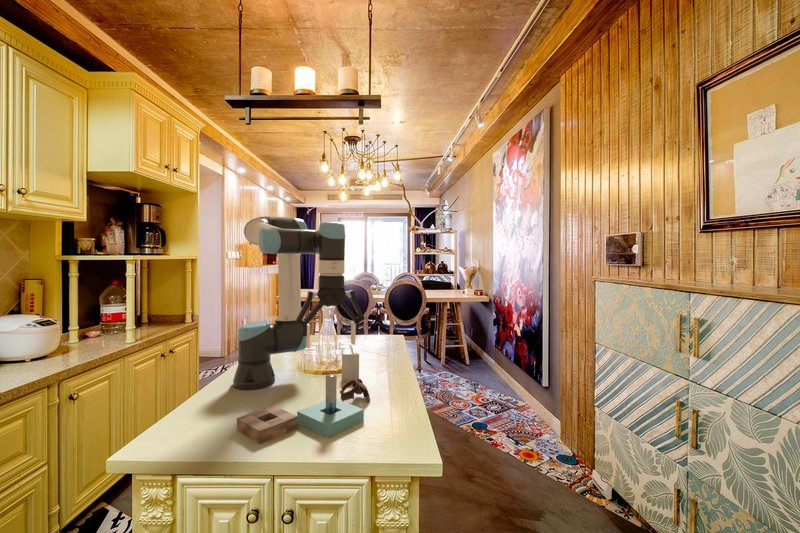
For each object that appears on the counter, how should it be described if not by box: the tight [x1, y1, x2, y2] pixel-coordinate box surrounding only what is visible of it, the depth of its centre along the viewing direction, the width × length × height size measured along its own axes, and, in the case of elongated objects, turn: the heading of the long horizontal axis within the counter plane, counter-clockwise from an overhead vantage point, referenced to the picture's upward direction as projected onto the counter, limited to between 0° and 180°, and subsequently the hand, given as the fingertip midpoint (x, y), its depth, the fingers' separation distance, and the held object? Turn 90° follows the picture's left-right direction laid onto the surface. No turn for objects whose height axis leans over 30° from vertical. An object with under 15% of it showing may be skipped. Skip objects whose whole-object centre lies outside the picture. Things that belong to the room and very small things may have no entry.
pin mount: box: [236, 405, 299, 444], centre depth 110 cm, size 12×12×4 cm
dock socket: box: [296, 398, 365, 438], centre depth 115 cm, size 14×14×4 cm
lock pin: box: [325, 373, 338, 415], centre depth 115 cm, size 3×3×14 cm
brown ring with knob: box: [339, 378, 371, 404], centre depth 132 cm, size 12×10×8 cm
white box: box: [341, 353, 360, 381], centre depth 154 cm, size 4×7×10 cm, turn 95°
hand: (330, 345), depth 114 cm, fingers open, 13 cm apart
